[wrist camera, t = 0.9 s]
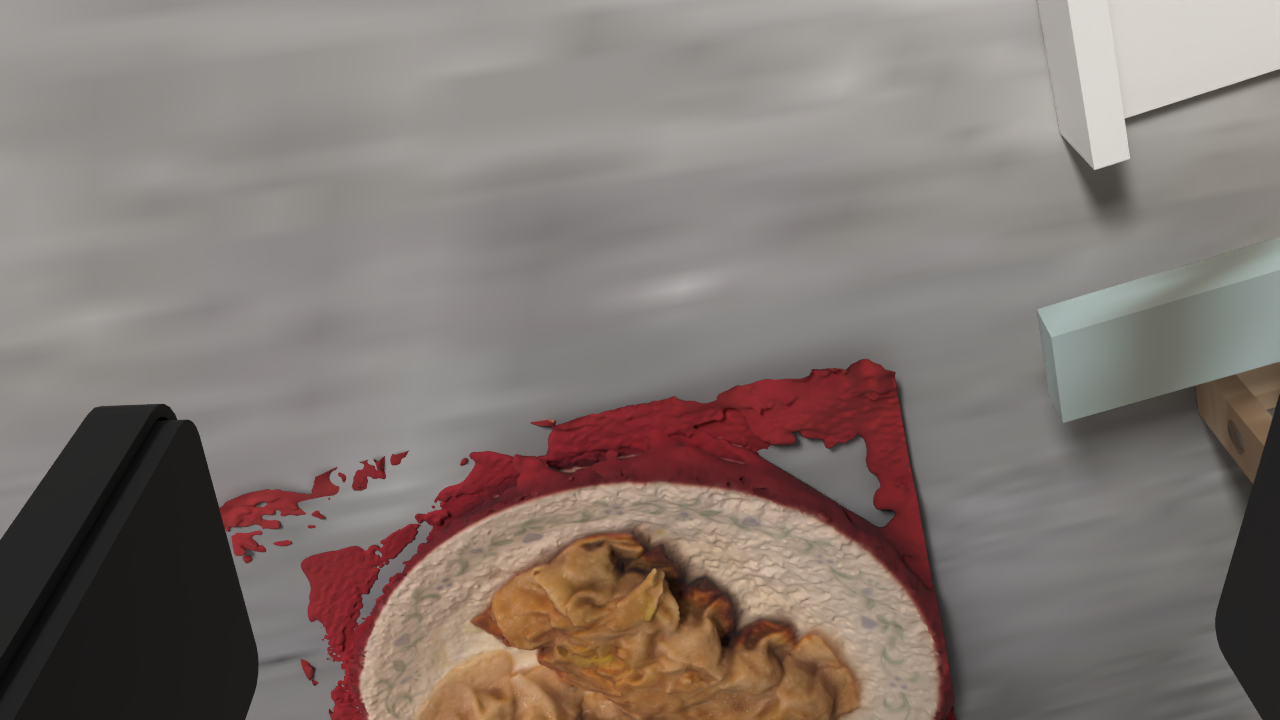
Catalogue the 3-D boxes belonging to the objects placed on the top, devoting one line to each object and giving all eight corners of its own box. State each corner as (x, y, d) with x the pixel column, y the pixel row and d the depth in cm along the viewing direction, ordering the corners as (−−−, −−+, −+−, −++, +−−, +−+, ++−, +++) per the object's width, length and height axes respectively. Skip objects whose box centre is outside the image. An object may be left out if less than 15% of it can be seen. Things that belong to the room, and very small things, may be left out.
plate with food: (883, 328, 40) (903, 382, 37) (974, 833, 53) (994, 904, 50) (219, 476, 43) (186, 537, 40) (454, 920, 56) (443, 992, 53)
